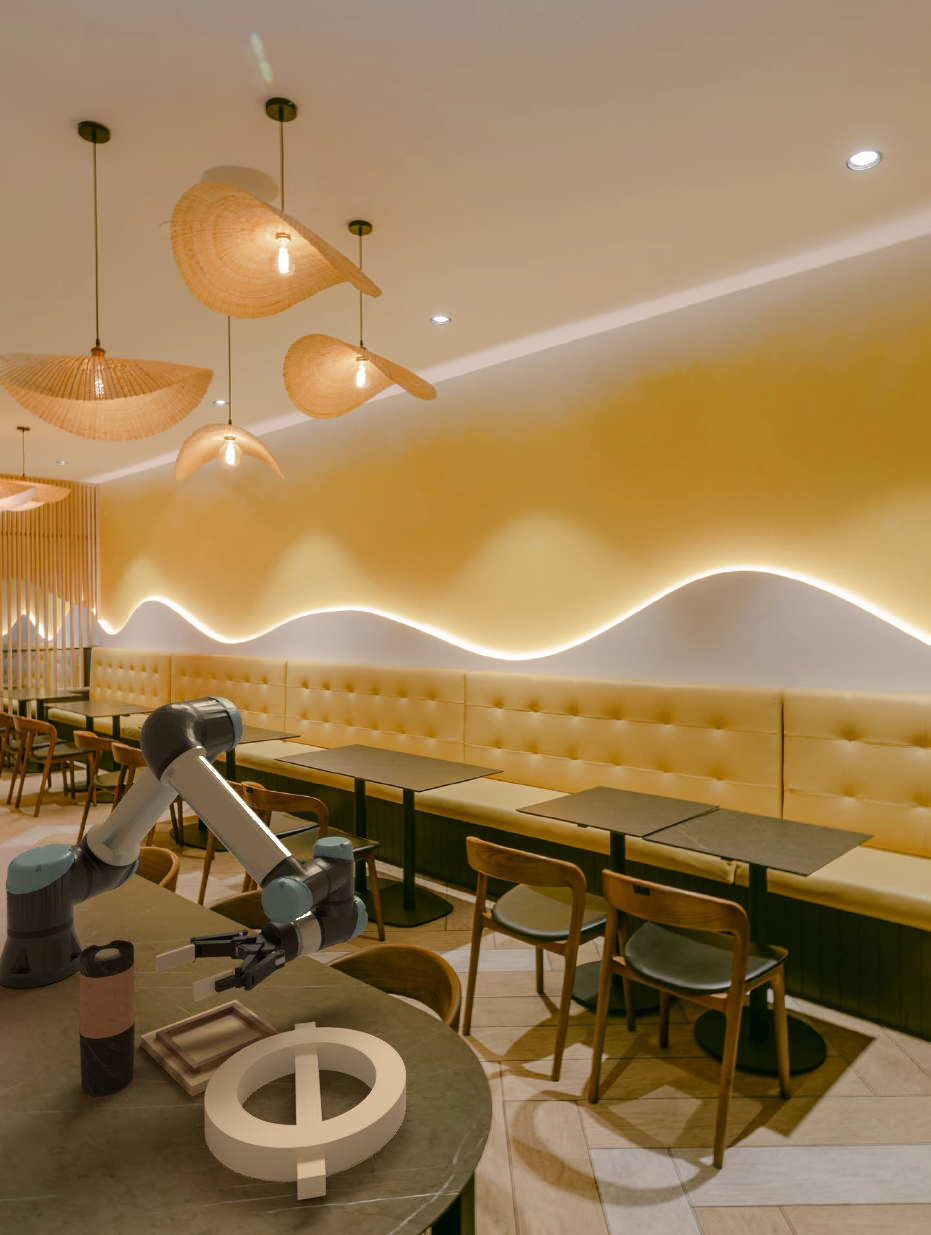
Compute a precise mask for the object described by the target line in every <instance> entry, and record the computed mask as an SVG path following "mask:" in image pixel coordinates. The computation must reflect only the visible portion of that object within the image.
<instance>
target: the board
mask: <svg viewBox="0 0 931 1235" xmlns="http://www.w3.org/2000/svg"><path fill="white" fill-rule="evenodd" d="M280 1033H282V1032H280V1031H279V1030H278V1029H277V1028H275V1027H274V1026H273V1025H271V1024H270V1023H268V1022H267V1021H265V1020H264V1019H263V1018H261V1017H260V1016H259V1015H257V1014H256V1013H255V1012H254V1011H252V1010H251V1009H249V1008H248V1007H246V1006H245V1005H244V1004H242V1003H241V1002H240V1001H238V1000H237V999H234V1000H230V1001H229V1002H225V1003H224V1004H221V1005H218V1006H214V1007H213V1008H210V1009H208V1010H205V1011H203V1012H200V1013H197V1014H194V1015H192V1016H188V1017H187V1018H183V1019H181V1020H179V1021H177V1022H174V1023H171V1024H168V1025H165V1026H163V1027H161V1028H157V1029H155V1030H152V1031H149V1032H147V1033H145V1034H142V1035H140V1036H139V1037H140V1040H139V1041H140V1046H141V1047H142V1048H143V1049H144V1050H145V1051H146V1053H148V1055H150V1057H152V1058H153V1059H154V1061H156V1062H157V1063H158V1064H159V1065H160V1066H161V1067H162V1068H163V1069H164V1070H165V1071H166V1072H167V1073H168V1074H169V1075H170V1076H171V1077H172V1078H173V1079H174V1080H175V1081H176V1082H177V1083H178V1084H179V1085H180V1087H181V1088H183V1089H184V1090H185V1091H186V1092H187V1093H188V1094H189V1095H190V1096H191V1097H195V1096H197V1095H199V1094H201V1093H203V1092H204V1093H205V1092H206V1088H207V1085H208V1083H209V1081H210V1079H211V1077H212V1076H213V1074H214V1073H215V1072H216V1070H217V1069H218V1068H219V1067H220V1066H221V1065H222V1064H223V1063H224V1062H225V1061H226V1060H228V1059H229V1058H230V1057H231V1056H233V1055H234V1054H235V1053H237V1052H238V1051H240V1050H242V1049H243V1048H245V1047H247V1046H249V1045H251V1044H253V1043H255V1042H257V1041H260V1040H262V1039H265V1038H267V1037H270V1036H273V1035H277V1034H280Z"/></svg>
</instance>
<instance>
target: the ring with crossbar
mask: <svg viewBox="0 0 931 1235" xmlns="http://www.w3.org/2000/svg"><path fill="white" fill-rule="evenodd" d="M320 1071H333V1072H338V1073H344V1074H347V1075H350V1076H353V1077H355V1078H356V1079H358V1080H360V1081H361V1082H363V1083H364V1084H365V1085H366V1086H368V1087H369V1088H370V1090H371V1089H372V1090H371V1091H370V1092H369V1094H368V1095H367V1096H366V1097H365V1098H364V1099H363V1100H362V1101H361V1102H360V1103H359V1104H357V1105H356V1106H355V1107H353V1108H351V1109H350V1110H348V1111H346V1112H344V1113H342V1114H340V1115H337V1116H334V1117H332V1118H329V1119H325V1120H323V1116H322V1115H323V1114H322V1102H321V1088H320ZM291 1074H295V1077H294V1078H295V1123H296V1124H281V1123H279V1124H278V1123H273V1122H269V1121H265V1120H262V1119H259V1118H258V1117H256V1116H254V1115H251V1114H250V1113H249V1112H248V1111H246V1109H244V1107H243V1105H244V1104H245V1102H246V1101H247V1100H248V1099H249V1098H250V1097H251V1096H252V1095H253V1094H254V1093H255V1092H256V1091H258V1090H260V1088H262V1087H263V1086H265V1085H267V1084H269V1083H271V1082H273V1081H275V1080H277V1079H280V1078H283V1077H285V1076H288V1075H291ZM257 1089H258V1090H257ZM253 1092H254V1093H253ZM252 1093H253V1094H252ZM250 1095H251V1096H250ZM247 1098H248V1099H247ZM406 1110H407V1072H406V1066H405V1063H404V1060H403V1059H402V1057H401V1056H400V1054H399V1053H398V1052H397V1050H396V1049H395V1048H393V1046H391V1045H390V1044H388V1043H387V1042H386V1041H385V1040H382V1039H381V1038H378V1037H377V1036H374V1035H372V1034H369V1033H366V1032H365V1031H359V1030H357V1029H356V1030H355V1029H351V1028H344V1027H330V1026H329V1027H328V1026H327V1027H317V1026H316V1021H312V1022H311V1021H310V1022H303V1023H302V1022H301V1023H294V1030H289V1031H285V1032H281V1033H280V1034H277V1035H273V1036H270V1037H267V1038H265V1039H262V1040H260V1041H257V1042H255V1043H253V1044H251V1045H249V1046H247V1047H245V1048H243V1049H242V1050H240V1051H238V1052H237V1053H235V1054H234V1055H233V1056H231V1057H230V1058H229V1059H228V1060H226V1061H225V1062H224V1063H223V1064H222V1065H221V1066H220V1067H219V1068H218V1069H217V1070H216V1072H215V1073H214V1074H213V1076H212V1077H211V1079H210V1081H209V1083H208V1085H207V1088H206V1091H204V1139H205V1143H206V1142H207V1143H206V1145H208V1146H207V1148H208V1147H209V1148H208V1150H209V1149H210V1150H209V1152H210V1151H211V1152H212V1153H213V1155H214V1156H215V1157H216V1158H217V1159H218V1160H219V1161H220V1162H222V1163H223V1164H224V1165H225V1166H227V1167H228V1168H231V1169H232V1170H234V1171H237V1172H238V1173H242V1174H245V1175H249V1176H252V1177H259V1178H265V1179H278V1180H279V1179H297V1182H296V1184H297V1185H296V1186H297V1187H296V1188H297V1192H296V1193H297V1200H298V1201H300V1200H306V1199H312V1198H318V1197H324V1196H326V1195H327V1190H326V1188H327V1181H326V1180H327V1179H326V1178H327V1177H326V1174H330V1173H333V1172H335V1171H338V1170H341V1169H344V1168H346V1167H347V1166H350V1165H351V1164H354V1163H355V1162H358V1161H360V1160H362V1159H364V1158H366V1157H368V1156H370V1155H371V1154H373V1153H374V1152H375V1151H377V1150H379V1149H380V1148H381V1147H382V1146H384V1145H385V1144H386V1143H387V1142H388V1141H389V1140H390V1139H391V1138H392V1137H393V1136H394V1135H395V1134H396V1135H397V1133H398V1132H397V1131H399V1130H400V1128H401V1127H402V1124H403V1123H404V1122H403V1121H404V1120H405V1115H406V1112H405V1111H406ZM400 1126H401V1127H400ZM398 1129H399V1130H398ZM396 1132H397V1133H396ZM396 1135H395V1136H396ZM395 1136H394V1137H395ZM394 1137H393V1138H394ZM393 1138H392V1139H393ZM211 1152H210V1153H211ZM212 1153H211V1154H212ZM213 1155H212V1156H213ZM214 1156H213V1157H214ZM215 1157H214V1158H215ZM216 1158H215V1159H216ZM217 1159H216V1160H217ZM218 1160H217V1161H218ZM219 1161H218V1162H219ZM220 1162H219V1163H220ZM224 1165H223V1166H224ZM225 1166H224V1167H225ZM227 1167H226V1168H227ZM228 1168H227V1169H228ZM232 1170H231V1171H232ZM234 1171H233V1172H234ZM238 1173H237V1174H238Z"/></svg>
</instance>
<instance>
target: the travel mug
mask: <svg viewBox="0 0 931 1235" xmlns="http://www.w3.org/2000/svg"><path fill="white" fill-rule="evenodd" d="M135 991H136V990H135V946H134V944H133V943H132V942H131V941H127V940H122V939H114V940H111V941H110V942H109V943H107V944H105V945H99V946H98V945H96V944H92V945H89V946H87V947H86V948H84V949H83V951H82V952H81V954H80V969H79V1014H78V1015H79V1018H78V1020H79V1028H78V1029H79V1054H80V1081H81V1089H82V1091H83V1093H84V1094H85V1095H87V1096H88V1095H89V1096H92V1097H93V1096H94V1097H101V1096H107V1095H110V1094H111V1095H112V1094H115V1093H116V1092H119V1091H120V1090H123V1089H124V1088H126V1087H127V1086H128V1085H129V1084H130V1083H131V1082H132V1080H133V1078H134V1064H135V1062H134V1061H135V1030H136V1020H135V1019H136V1001H135V994H136V992H135Z"/></svg>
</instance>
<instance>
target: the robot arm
mask: <svg viewBox="0 0 931 1235" xmlns="http://www.w3.org/2000/svg"><path fill="white" fill-rule="evenodd" d="M139 733H140V735H139V746H140V752H141V755H142V757H143V759H144V762H145V764H146V765H147V766H146V767H145V768H144V770H143V771H142V772H141V774H140V775H139V776H138V778H137V779H136V780H135V781H134V782H133V784H132V785H131V786H130V788H129V789H128V791H127V792H126V793H125V794H124V795H123V797H122V799H121V800H120V801H119V802H118V804H117V805H116V806H115V808H114V809H113V810H112V812H111V813H110V814H109V815H108V817H107V818H106V819H105V821H100V822H97V823H95V824H93V825H92V826H91V827H90V828H89V829H88V831H87V832H86V833H85V835H84V836H83V837H82V839H81V840H80V841H79V842H77V843H76V844H74V845H71V846H70V845H68V844H64V843H54V844H53V843H52V844H45V845H43V846H38V847H37V846H36V847H35V848H33V847H32V849H31V848H30V849H29V850H26V851H24V852H22V853H20V854H18V855H17V856H15V857H14V858H13V859H12V860H11V861H10V863H9V865H8V866H7V869H6V871H7V872H6V873H7V874H6V881H5V889H6V939H5V942H4V945H3V948H2V952H1V954H0V985H1V986H4V987H6V988H15V989H22V988H23V989H25V988H26V989H27V988H36V987H41V986H46V985H49V984H53V983H56V982H59V981H62V980H65V979H67V978H69V977H70V976H73V975H74V974H75V973H77V972H78V971H80V954H81V952H82V951H83V950H84V949H83V946H82V944H81V941H80V938H79V936H78V933H77V931H76V927H75V923H74V920H75V919H74V918H75V916H74V911H75V908H74V907H75V906H76V905H79V904H81V903H83V902H86V901H88V900H90V899H93V898H94V897H97V896H99V895H102V894H104V893H107V892H110V891H112V890H113V891H114V890H115V889H117V888H119V887H121V886H123V885H124V884H126V883H127V882H129V880H130V879H131V878H132V877H133V876H134V875H135V873H136V871H137V870H138V868H139V863H140V860H138V859H139V857H140V852H141V847H140V844H141V842H142V841H143V840H144V839H145V837H146V836H147V835H148V834H149V832H150V831H151V830H152V828H153V827H154V826H155V825H156V823H157V822H159V819H161V817H162V816H163V814H165V812H166V811H167V809H168V808H169V807H170V805H172V803H173V802H174V801H175V799H176V798H177V797H178V795H179V796H180V797H181V798H182V800H183V801H184V802H185V803H186V804H187V805H188V807H189V808H190V809H191V810H192V811H193V812H194V813H195V815H196V816H197V817H198V818H199V819H200V820H201V821H202V823H204V825H205V826H206V827H207V828H208V829H209V830H210V832H212V834H213V835H214V836H215V837H216V838H217V839H218V841H219V842H220V843H221V844H222V845H223V847H224V848H226V850H227V851H228V852H229V853H230V855H231V856H232V857H233V858H234V859H235V860H236V861H237V863H239V865H240V866H241V867H242V869H244V870H245V871H246V873H247V874H248V875H249V876H250V877H251V879H253V880H254V881H255V883H256V884H257V885H258V886H259V887H260V888H261V890H262V893H261V900H260V901H261V902H260V903H261V905H262V907H263V912H264V914H265V915H266V917H267V918H268V919H269V920H270V921H268V922H266V923H265V924H264V925H263V926H262V928H261V931H260V932H259V933H258V934H249V930H248V929H246V928H244V929H240V930H237V931H231V932H230V931H229V932H224V933H216V934H209V935H201V936H200V935H199V936H193V937H191V938H190V939H189V940H190V942H189V943H190V944H189V945H185V946H183V947H179V948H175V949H173V950H170V951H166V952H163V953H160V954H157V955H155V956H154V957H155V965H154V966H155V973H156V974H160V973H163V972H166V971H169V970H172V969H174V968H178V967H181V966H184V965H187V964H190V963H195V962H196V960H197V959H202V958H206V959H207V958H222V957H223V958H225V957H226V958H227V957H228V958H229V957H230V958H231V959H232V960H242V962H241V963H240V965H239V966H234V970H233V969H231V968H230V969H227V970H225V971H222V972H219V973H217V974H213V975H210V976H208V977H205V978H202V979H200V980H196V981H194V982H192V983H191V998H192V999H191V1000H192V1002H194V1003H196V1002H198V1001H201V1000H203V999H207V998H209V997H212V996H215V995H216V994H220V993H222V992H225V991H228V990H230V989H233V988H235V989H241V988H242V987H243V990H244V991H246V992H249V991H250V990H253V989H254V988H255V987H257V986H258V985H259V984H260V983H261V982H263V981H264V980H265V979H267V978H268V977H269V976H271V974H273V973H274V972H275V971H277V970H280V969H282V968H284V967H286V966H285V965H286V964H287V963H290V962H293V961H294V960H297V959H300V958H302V959H303V958H306V957H307V956H308V955H311V954H313V953H316V952H319V951H322V950H324V949H329V947H333V946H336V945H338V944H343V943H346V942H348V941H350V940H352V939H354V938H357V937H358V936H360V935H362V934H363V933H364V931H365V930H366V928H367V925H368V922H369V920H368V918H369V917H368V912H366V908H367V907H366V905H365V903H364V901H363V900H362V899H361V898H360V897H359V896H357V895H354V894H355V893H354V891H355V890H354V888H355V886H354V885H355V884H354V883H355V880H354V879H355V873H354V872H355V870H354V865H355V858H354V846H353V843H352V841H351V840H350V839H349V838H346V837H343V836H328V837H323V838H320V839H317V840H316V841H314V843H313V845H312V846H313V847H312V853H311V856H312V858H311V859H310V860H308V861H306V862H304V863H301V862H300V861H299V859H297V857H295V855H293V853H292V852H291V851H290V850H289V849H288V848H287V847H286V845H284V843H283V842H282V841H281V840H280V839H279V838H278V837H277V835H276V834H275V833H274V832H273V831H272V830H271V829H270V827H269V826H268V825H267V824H266V823H265V821H263V820H262V819H261V818H260V816H258V814H257V813H256V812H255V811H254V810H253V809H252V808H251V807H250V805H249V804H248V803H247V802H246V801H245V800H244V799H243V798H242V796H240V794H239V793H238V792H237V791H236V790H235V789H234V787H233V786H232V785H231V784H230V783H229V782H228V781H227V780H226V779H225V777H224V776H222V774H221V773H220V772H219V770H217V769H216V767H215V766H214V765H213V763H214V762H215V761H216V760H217V759H218V757H219V756H220V755H221V754H223V753H228V752H231V751H232V750H233V749H235V748H236V747H237V746H238V745H239V744H240V743H241V740H242V737H243V735H244V726H243V718H242V715H241V712H240V711H239V709H238V707H237V706H236V705H235V704H234V702H232V701H231V700H229V699H227V698H225V697H223V696H222V697H221V696H204V697H200V698H196V699H191V700H190V699H188V700H185V701H179V702H170V703H166V704H163V705H161V706H159V707H157V708H155V709H154V710H153V711H152V712H150V714H149V715H148V716H147V718H145V720H144V721H143V723H142V726H141V730H140V732H139Z"/></svg>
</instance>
